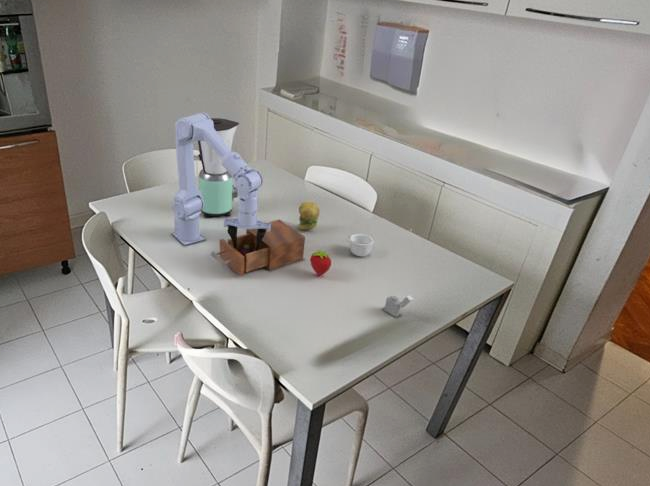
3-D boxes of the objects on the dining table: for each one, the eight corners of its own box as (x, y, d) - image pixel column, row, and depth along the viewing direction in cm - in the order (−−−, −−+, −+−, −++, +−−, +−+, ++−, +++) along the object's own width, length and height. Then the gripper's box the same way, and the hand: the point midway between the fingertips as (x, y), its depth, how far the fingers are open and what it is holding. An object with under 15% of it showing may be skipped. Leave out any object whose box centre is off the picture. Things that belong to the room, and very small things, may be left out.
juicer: (233, 202, 210) (235, 114, 191) (240, 217, 199) (243, 125, 180) (186, 205, 206) (183, 116, 187) (191, 221, 195) (188, 128, 176)
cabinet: (269, 270, 168) (270, 247, 163) (245, 251, 178) (246, 228, 173) (302, 259, 174) (305, 236, 170) (278, 241, 184) (279, 219, 179)
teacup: (375, 254, 178) (378, 240, 175) (360, 261, 174) (363, 247, 171) (353, 242, 184) (355, 229, 182) (338, 249, 180) (340, 235, 178)
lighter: (383, 309, 152) (388, 287, 147) (387, 307, 153) (392, 285, 148) (404, 322, 147) (410, 298, 143) (407, 319, 148) (413, 296, 144)
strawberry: (318, 284, 162) (321, 256, 157) (304, 272, 167) (307, 245, 162) (333, 279, 164) (337, 251, 159) (319, 267, 170) (322, 241, 165)
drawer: (227, 280, 161) (227, 262, 157) (206, 261, 170) (206, 243, 166) (273, 265, 169) (274, 247, 165) (251, 248, 178) (252, 230, 174)
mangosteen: (237, 256, 171) (238, 243, 168) (250, 254, 172) (250, 241, 170) (242, 263, 167) (242, 250, 165) (254, 261, 169) (255, 248, 166)
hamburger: (310, 223, 196) (314, 194, 189) (321, 232, 190) (325, 202, 184) (293, 227, 193) (295, 197, 186) (303, 236, 187) (306, 206, 181)
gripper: (272, 206, 163) (270, 244, 170) (227, 201, 164) (226, 239, 172) (270, 216, 157) (267, 255, 164) (222, 211, 159) (222, 250, 166)
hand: (246, 248), depth 168 cm, fingers open, 6 cm apart
